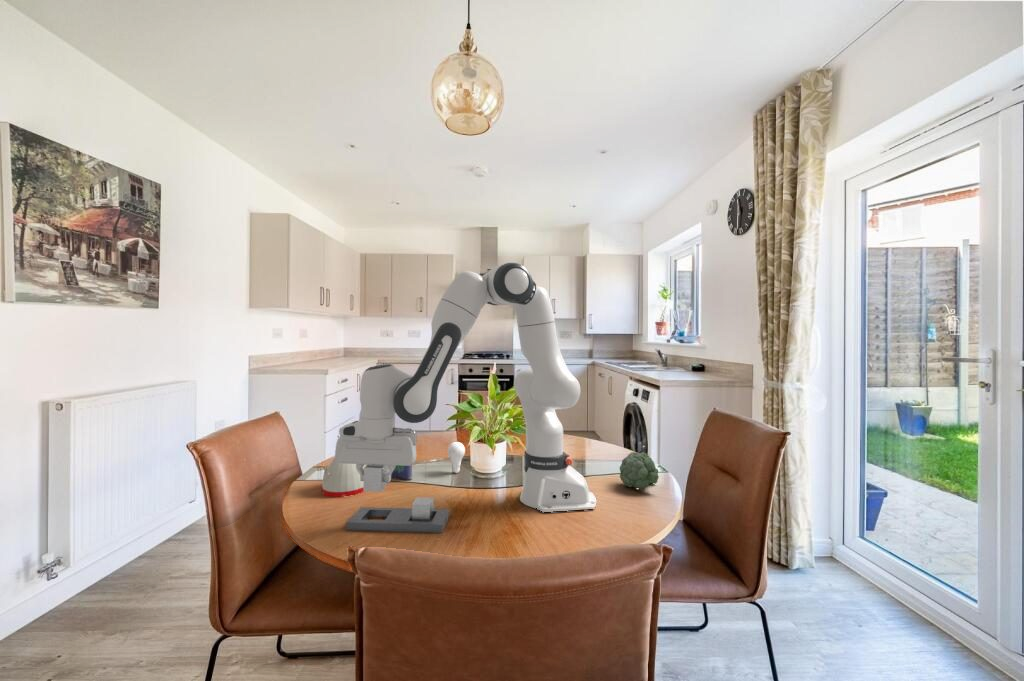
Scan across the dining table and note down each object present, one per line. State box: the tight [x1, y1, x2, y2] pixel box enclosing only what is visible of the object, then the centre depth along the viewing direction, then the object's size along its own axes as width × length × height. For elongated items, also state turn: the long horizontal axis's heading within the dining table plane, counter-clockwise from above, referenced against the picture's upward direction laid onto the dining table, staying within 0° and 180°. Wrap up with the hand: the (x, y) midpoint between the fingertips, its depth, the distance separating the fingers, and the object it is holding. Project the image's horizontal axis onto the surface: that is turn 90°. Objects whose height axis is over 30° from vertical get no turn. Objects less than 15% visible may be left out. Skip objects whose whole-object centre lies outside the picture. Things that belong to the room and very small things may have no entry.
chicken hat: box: [321, 457, 368, 498], centre depth 127 cm, size 14×14×15 cm
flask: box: [391, 464, 413, 481], centre depth 137 cm, size 9×3×11 cm, turn 61°
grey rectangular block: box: [363, 464, 389, 493], centre depth 103 cm, size 4×4×6 cm
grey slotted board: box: [345, 506, 450, 534], centre depth 103 cm, size 24×9×2 cm, turn 88°
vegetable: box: [619, 451, 660, 491], centre depth 131 cm, size 12×13×15 cm
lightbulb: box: [447, 441, 466, 474], centre depth 143 cm, size 6×6×11 cm
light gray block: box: [411, 496, 435, 522], centre depth 103 cm, size 4×4×6 cm
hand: (375, 481), depth 103 cm, fingers closed on grey rectangular block, 4 cm apart
